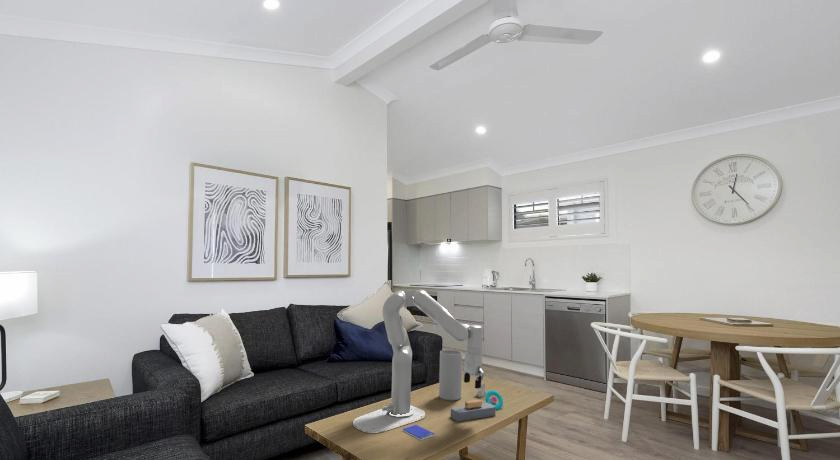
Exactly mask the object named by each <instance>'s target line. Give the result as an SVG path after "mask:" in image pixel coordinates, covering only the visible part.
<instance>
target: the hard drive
mask: <svg viewBox="0 0 840 460" xmlns="http://www.w3.org/2000/svg"><path fill="white" fill-rule="evenodd" d="M402 432H404V433H406V434H408V435H409V436H412V437H414V438H415V439H418V440H419V441H422V440H427V439H428V438H432V437H435V436H436V434H435V432H432V431H430V430H429V429H427V428H424V427H422V426H420V425H418V424H415V425H411V426H407V427H405V428H404V427H403V428H402Z"/></svg>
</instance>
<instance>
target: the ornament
mask: <svg viewBox="0 0 840 460" xmlns="http://www.w3.org/2000/svg"><path fill="white" fill-rule="evenodd" d="M484 400H485V403H489V404H491V405H493V406H495V407H496V411H499V410H500V409H501V408H502V407H503V404H504V399H503V397H502V395H501V394H500V392H498V391H496V390H493V389H492V390H488V391H487V392H485V395H484Z"/></svg>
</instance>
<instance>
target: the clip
mask: <svg viewBox="0 0 840 460" xmlns="http://www.w3.org/2000/svg"><path fill="white" fill-rule="evenodd" d="M482 403H483V400H481V399H473V400H471V399H470V400H467V401H464V406H465V407H466V409H468V410H472V408H477V409H478V408H480V407H481V406H482Z"/></svg>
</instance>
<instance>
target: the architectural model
mask: <svg viewBox="0 0 840 460" xmlns="http://www.w3.org/2000/svg"><path fill="white" fill-rule="evenodd" d="M475 392H477V397H478V398H481V397H485V395H486V382H481V388H476V389H475Z"/></svg>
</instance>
